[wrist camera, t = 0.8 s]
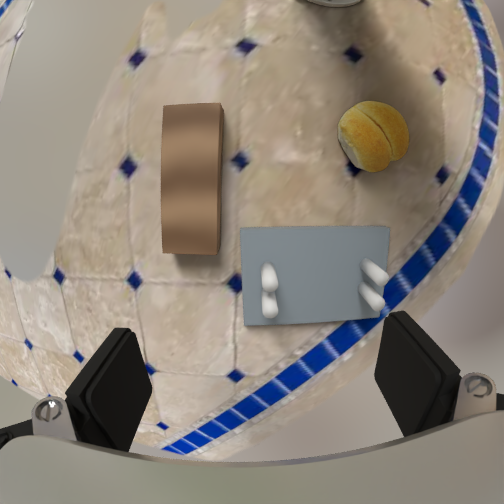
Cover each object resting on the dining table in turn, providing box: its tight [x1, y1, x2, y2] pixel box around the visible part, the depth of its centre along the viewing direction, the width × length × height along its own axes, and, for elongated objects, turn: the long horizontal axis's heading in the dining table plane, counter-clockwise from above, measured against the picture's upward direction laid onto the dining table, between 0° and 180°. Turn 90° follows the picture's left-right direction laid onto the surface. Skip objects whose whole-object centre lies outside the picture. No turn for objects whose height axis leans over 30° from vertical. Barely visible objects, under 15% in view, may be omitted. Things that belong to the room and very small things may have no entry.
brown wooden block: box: [161, 103, 224, 255], centre depth 30 cm, size 16×6×4 cm, turn 178°
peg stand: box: [240, 226, 390, 326], centre depth 31 cm, size 12×18×6 cm, turn 92°
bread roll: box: [338, 101, 409, 172], centre depth 28 cm, size 8×9×4 cm
